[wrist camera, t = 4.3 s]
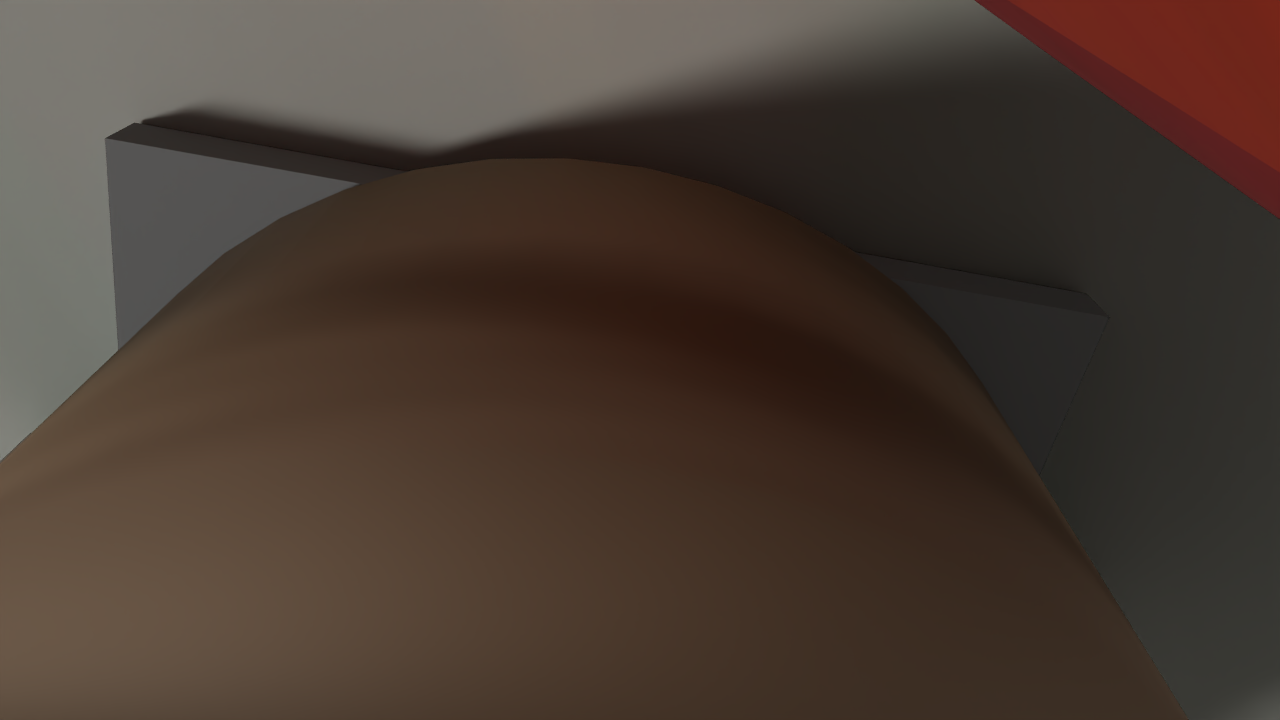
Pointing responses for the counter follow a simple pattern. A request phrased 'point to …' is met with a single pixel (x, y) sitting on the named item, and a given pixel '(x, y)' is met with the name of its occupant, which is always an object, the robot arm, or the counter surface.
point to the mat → (288, 181)
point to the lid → (546, 483)
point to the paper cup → (1177, 73)
